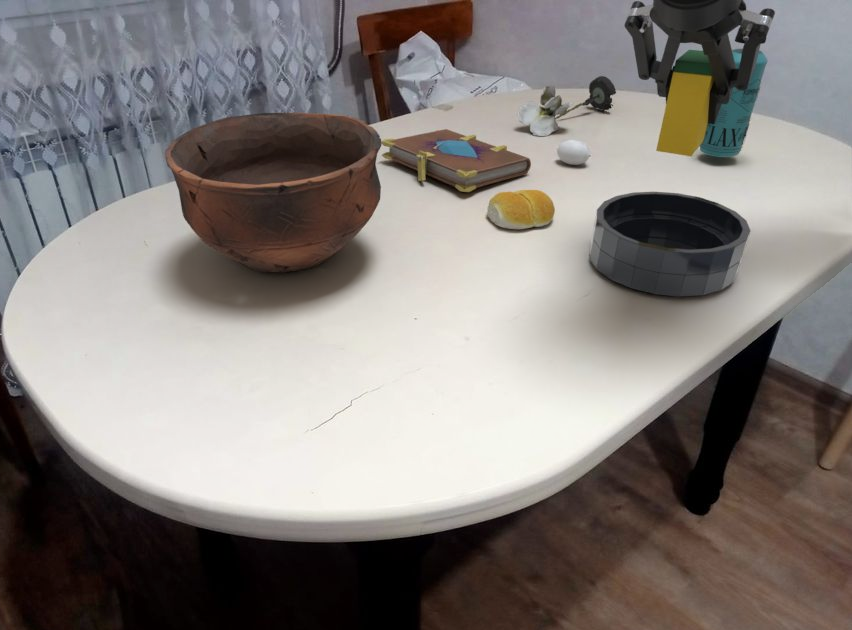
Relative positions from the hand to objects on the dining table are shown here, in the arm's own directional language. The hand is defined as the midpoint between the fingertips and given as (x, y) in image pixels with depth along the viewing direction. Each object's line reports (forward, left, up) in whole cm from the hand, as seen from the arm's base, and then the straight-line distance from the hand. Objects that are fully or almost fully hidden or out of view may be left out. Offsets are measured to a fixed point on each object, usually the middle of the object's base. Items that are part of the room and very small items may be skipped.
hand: (693, 110), depth 79 cm
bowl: (+39, +32, -16) cm, 53 cm away
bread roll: (+18, +7, -16) cm, 25 cm away
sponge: (0, +4, -3) cm, 5 cm away
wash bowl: (-2, +11, -15) cm, 19 cm away
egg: (+19, -17, -16) cm, 30 cm away
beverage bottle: (-1, -30, -16) cm, 34 cm away
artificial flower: (+27, -38, -16) cm, 50 cm away
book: (+37, -6, -16) cm, 41 cm away
